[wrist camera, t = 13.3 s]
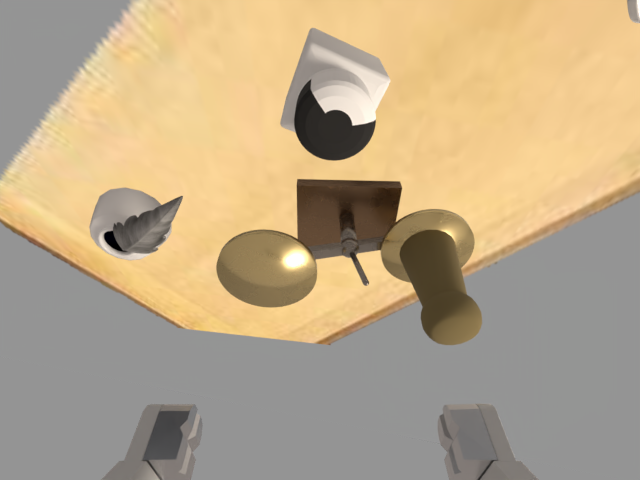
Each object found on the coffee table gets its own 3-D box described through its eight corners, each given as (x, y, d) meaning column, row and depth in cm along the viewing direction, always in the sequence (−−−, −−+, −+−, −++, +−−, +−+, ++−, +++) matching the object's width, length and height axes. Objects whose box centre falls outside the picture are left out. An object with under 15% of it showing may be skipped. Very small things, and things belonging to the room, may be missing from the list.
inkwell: (82, 215, 46) (33, 270, 38) (164, 122, 38) (124, 166, 31) (147, 257, 50) (115, 313, 42) (232, 180, 43) (212, 232, 35)
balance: (465, 179, 42) (508, 248, 33) (444, 245, 49) (475, 320, 39) (232, 173, 42) (205, 242, 32) (241, 241, 48) (221, 315, 39)
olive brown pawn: (461, 261, 41) (498, 344, 32) (408, 277, 42) (431, 361, 34) (448, 221, 37) (486, 303, 29) (391, 241, 39) (411, 324, 31)
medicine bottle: (349, 126, 39) (357, 183, 29) (285, 100, 37) (272, 152, 28) (381, 58, 35) (403, 99, 25) (310, 25, 33) (306, 56, 23)
